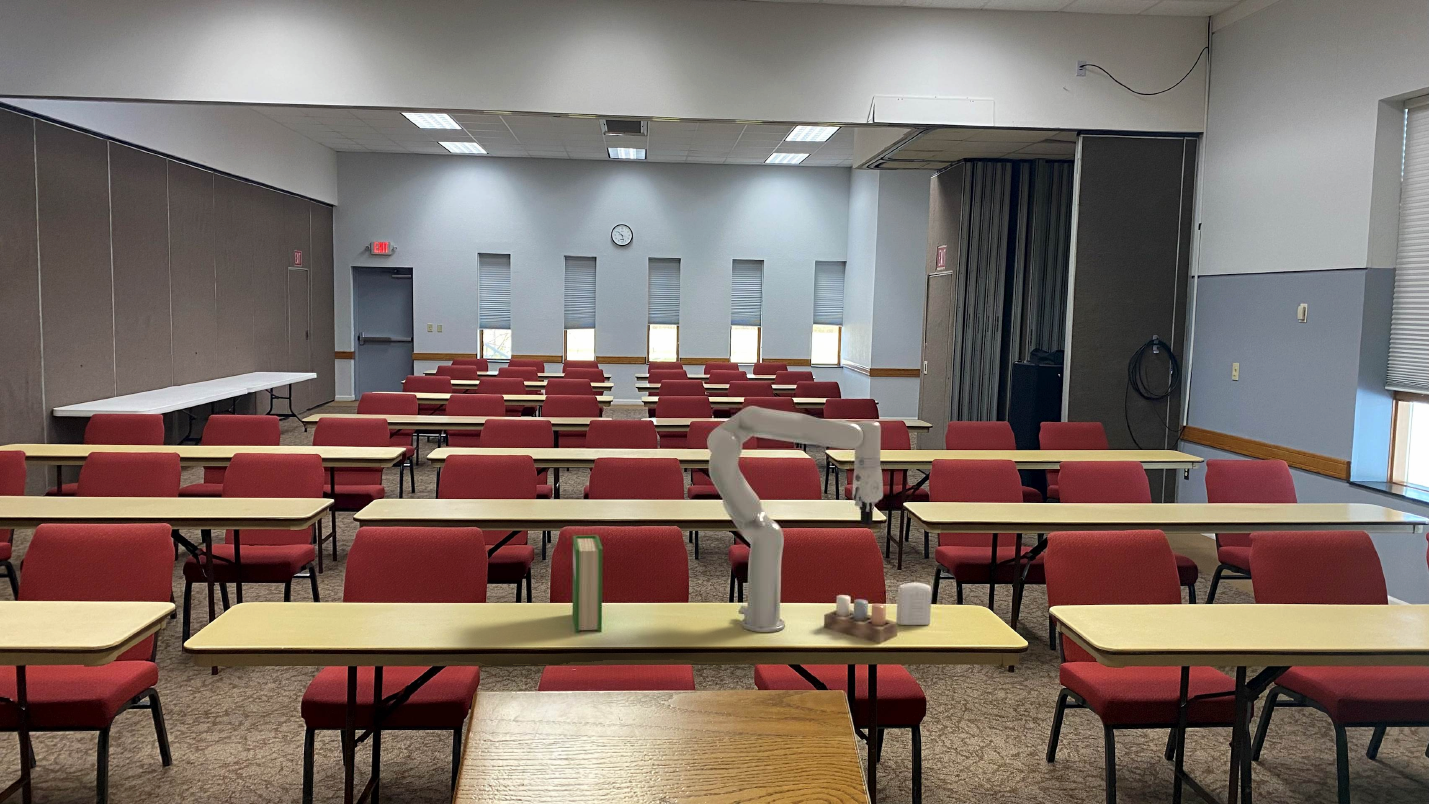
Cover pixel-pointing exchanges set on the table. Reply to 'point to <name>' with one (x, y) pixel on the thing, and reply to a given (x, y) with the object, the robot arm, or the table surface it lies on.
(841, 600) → the white peg
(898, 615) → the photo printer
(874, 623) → the salmon orange cylinder
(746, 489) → the robot arm
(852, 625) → the wooden peg holder
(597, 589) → the hardback book
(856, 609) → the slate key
